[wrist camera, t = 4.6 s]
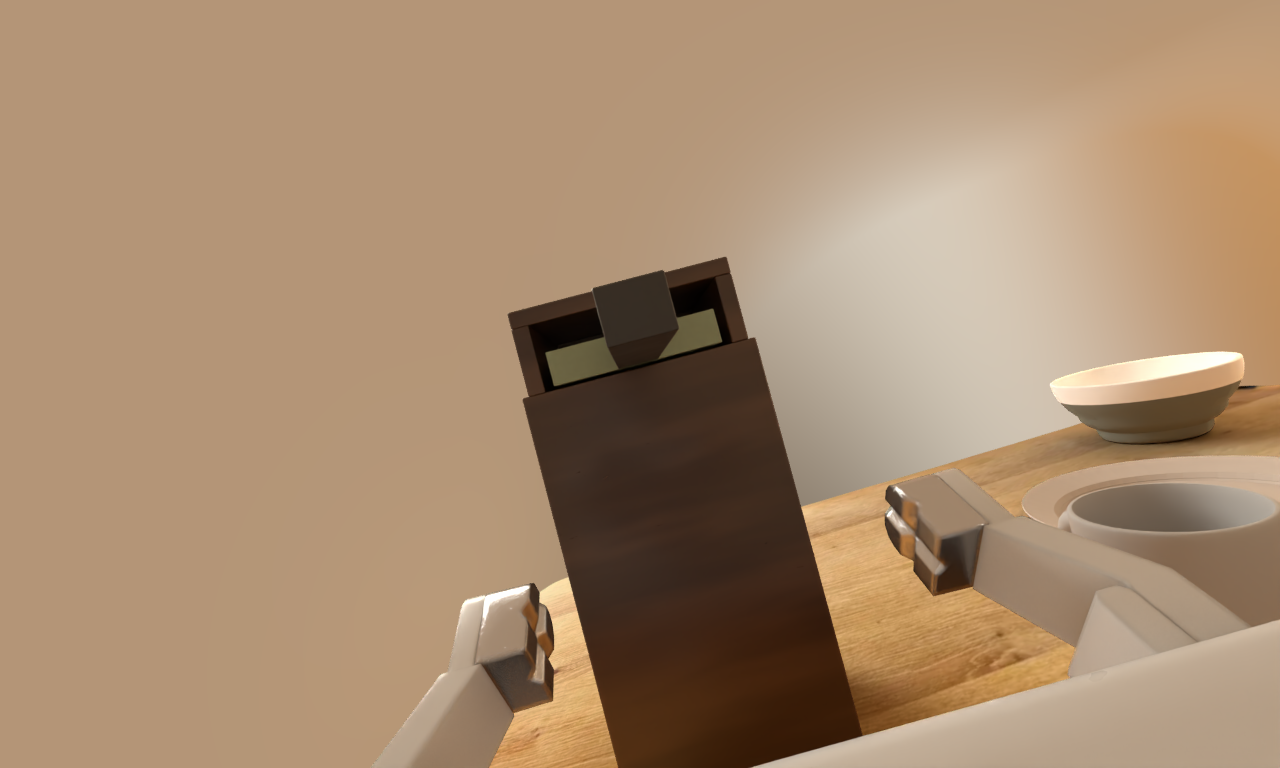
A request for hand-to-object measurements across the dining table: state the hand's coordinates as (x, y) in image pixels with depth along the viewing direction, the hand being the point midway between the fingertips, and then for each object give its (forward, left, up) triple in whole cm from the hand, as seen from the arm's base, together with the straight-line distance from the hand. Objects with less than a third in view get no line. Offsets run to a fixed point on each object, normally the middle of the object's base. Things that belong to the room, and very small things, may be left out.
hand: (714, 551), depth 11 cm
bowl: (+45, -79, -21) cm, 93 cm away
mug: (+13, -29, -21) cm, 38 cm away
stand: (+23, -4, -21) cm, 31 cm away
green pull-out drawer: (+15, -3, +6) cm, 16 cm away
